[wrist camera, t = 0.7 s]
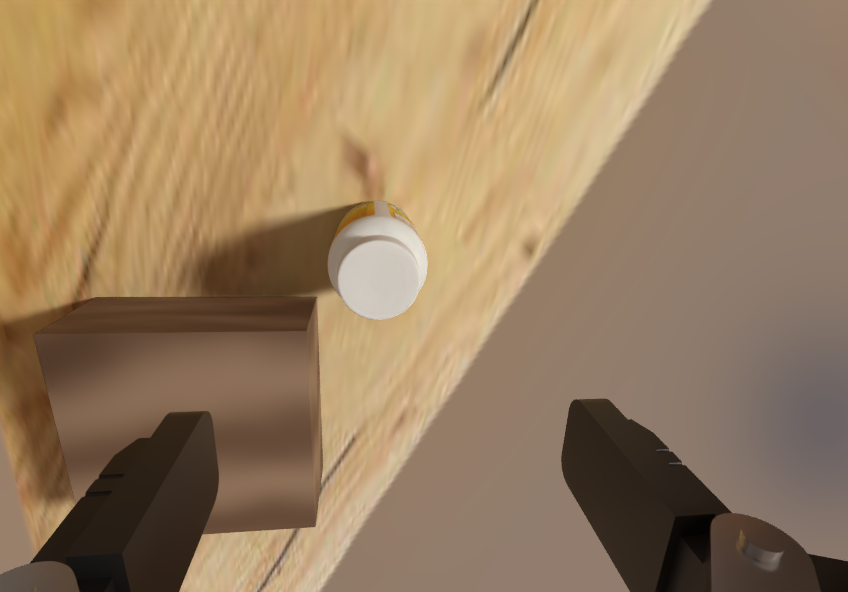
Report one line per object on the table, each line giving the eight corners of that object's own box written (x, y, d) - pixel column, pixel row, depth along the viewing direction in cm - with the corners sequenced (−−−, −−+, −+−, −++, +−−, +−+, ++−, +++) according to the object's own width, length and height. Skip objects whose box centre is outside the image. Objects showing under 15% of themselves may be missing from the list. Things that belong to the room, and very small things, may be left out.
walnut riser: (95, 297, 30) (33, 334, 24) (316, 297, 32) (306, 330, 26) (130, 475, 34) (85, 541, 29) (322, 466, 36) (315, 527, 30)
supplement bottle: (420, 205, 31) (444, 233, 22) (409, 282, 32) (427, 338, 23) (338, 194, 30) (327, 218, 21) (331, 274, 31) (318, 328, 22)
